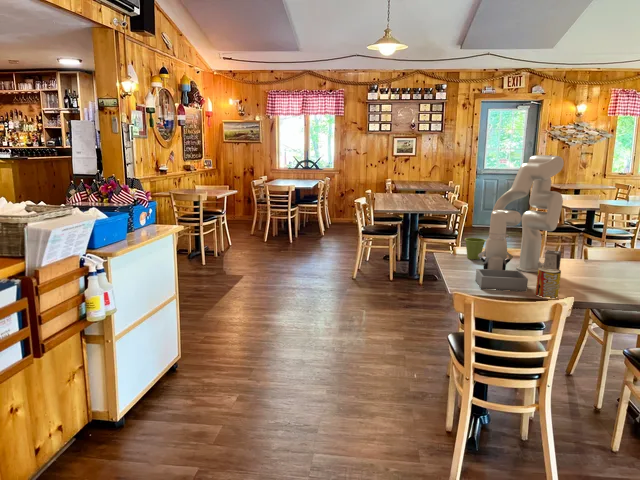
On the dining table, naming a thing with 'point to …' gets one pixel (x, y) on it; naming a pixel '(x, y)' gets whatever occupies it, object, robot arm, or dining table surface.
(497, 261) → the can
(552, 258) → the coffee box
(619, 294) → the dining table surface
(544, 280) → the beverage can
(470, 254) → the plant pot
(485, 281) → the bin
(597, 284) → the dining table surface
